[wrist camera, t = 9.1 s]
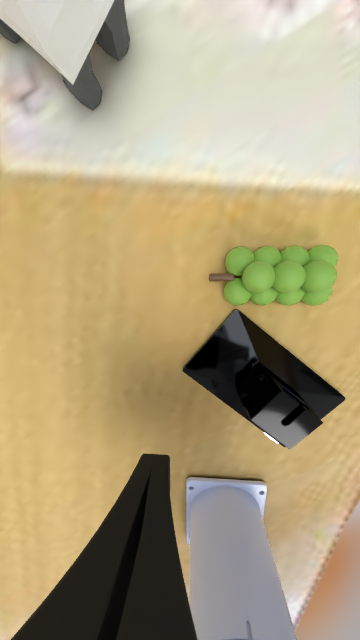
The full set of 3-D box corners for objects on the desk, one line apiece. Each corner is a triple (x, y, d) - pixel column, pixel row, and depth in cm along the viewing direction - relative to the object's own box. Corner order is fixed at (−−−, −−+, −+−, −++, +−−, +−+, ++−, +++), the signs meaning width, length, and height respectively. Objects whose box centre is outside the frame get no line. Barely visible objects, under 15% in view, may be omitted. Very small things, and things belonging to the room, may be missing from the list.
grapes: (317, 303, 15) (354, 311, 11) (206, 303, 15) (210, 311, 12) (327, 246, 14) (370, 238, 10) (207, 249, 14) (212, 241, 11)
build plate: (342, 395, 17) (398, 441, 12) (281, 445, 18) (310, 502, 14) (235, 307, 15) (254, 322, 11) (179, 370, 17) (175, 406, 12)
